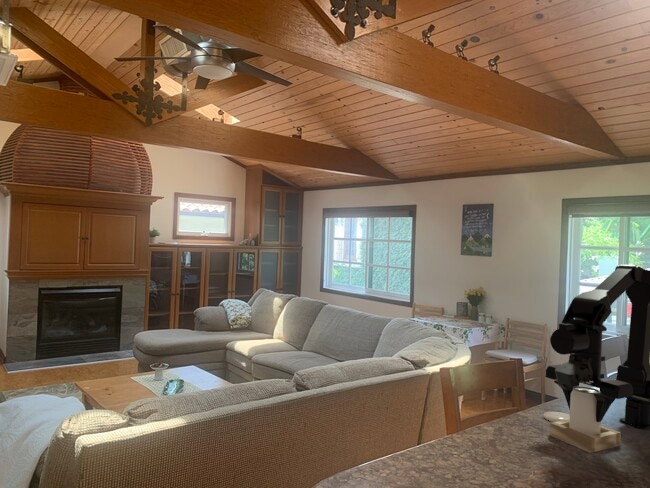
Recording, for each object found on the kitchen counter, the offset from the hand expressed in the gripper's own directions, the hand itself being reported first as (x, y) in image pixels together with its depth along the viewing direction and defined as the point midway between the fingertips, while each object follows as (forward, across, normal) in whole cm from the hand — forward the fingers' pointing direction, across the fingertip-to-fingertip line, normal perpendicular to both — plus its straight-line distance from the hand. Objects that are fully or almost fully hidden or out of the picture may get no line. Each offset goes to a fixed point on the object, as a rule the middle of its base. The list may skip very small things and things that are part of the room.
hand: (585, 416), depth 116 cm
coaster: (+6, -12, +7) cm, 15 cm away
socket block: (+6, 0, 0) cm, 6 cm away
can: (+6, 0, 0) cm, 6 cm away
